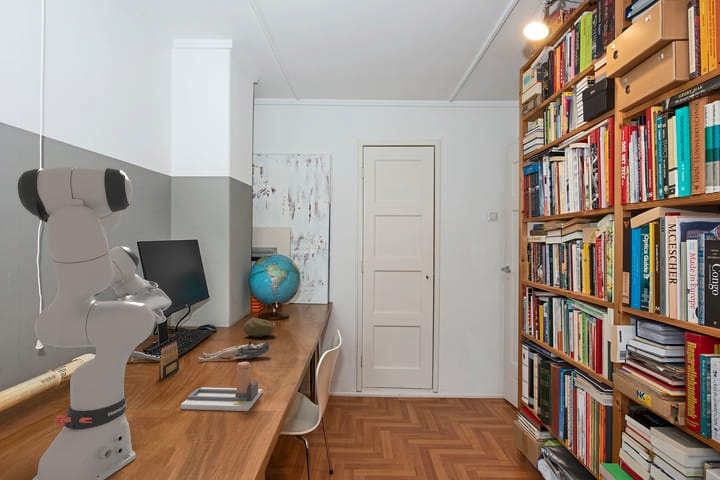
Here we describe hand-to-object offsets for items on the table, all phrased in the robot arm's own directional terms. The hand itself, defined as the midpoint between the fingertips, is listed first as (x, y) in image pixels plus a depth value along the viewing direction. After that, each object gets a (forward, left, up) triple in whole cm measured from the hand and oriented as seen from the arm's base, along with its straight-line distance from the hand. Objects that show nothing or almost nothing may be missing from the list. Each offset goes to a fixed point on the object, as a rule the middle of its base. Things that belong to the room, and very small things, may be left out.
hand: (162, 321), depth 130 cm
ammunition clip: (+25, +12, -27) cm, 39 cm away
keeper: (+2, -27, -25) cm, 37 cm away
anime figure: (+46, -6, -27) cm, 54 cm away
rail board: (+2, -20, -27) cm, 33 cm away
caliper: (+39, +29, -27) cm, 56 cm away
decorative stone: (+84, -5, -27) cm, 88 cm away
